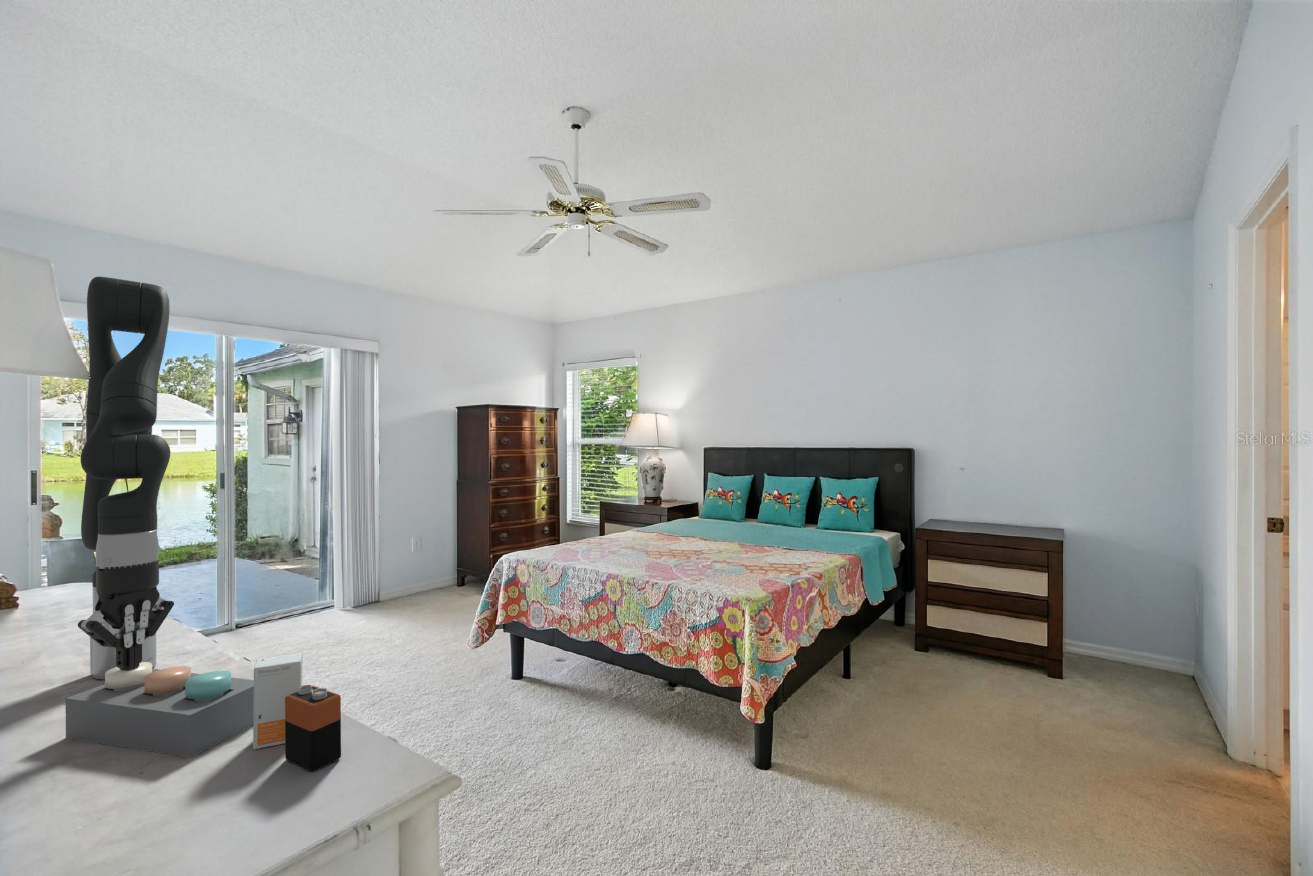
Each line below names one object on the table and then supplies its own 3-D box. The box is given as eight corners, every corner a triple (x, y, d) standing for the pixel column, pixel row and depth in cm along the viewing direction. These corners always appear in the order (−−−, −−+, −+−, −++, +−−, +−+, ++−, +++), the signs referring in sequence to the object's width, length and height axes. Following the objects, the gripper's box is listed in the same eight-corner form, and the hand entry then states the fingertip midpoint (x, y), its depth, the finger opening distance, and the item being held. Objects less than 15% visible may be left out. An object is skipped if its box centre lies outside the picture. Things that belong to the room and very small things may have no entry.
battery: (311, 774, 80) (311, 699, 80) (283, 760, 84) (283, 689, 84) (342, 759, 84) (342, 687, 84) (314, 746, 88) (314, 678, 88)
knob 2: (176, 733, 89) (175, 683, 89) (212, 716, 95) (211, 669, 95) (205, 738, 88) (205, 687, 88) (240, 720, 94) (240, 672, 94)
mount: (65, 738, 90) (65, 698, 90) (150, 703, 102) (149, 668, 102) (190, 757, 85) (190, 715, 85) (264, 718, 96) (264, 681, 96)
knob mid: (135, 727, 91) (134, 678, 91) (172, 711, 97) (172, 665, 97) (163, 732, 90) (163, 682, 90) (200, 715, 95) (199, 668, 95)
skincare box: (252, 751, 86) (252, 668, 86) (256, 738, 90) (256, 658, 90) (301, 741, 89) (301, 660, 89) (303, 729, 93) (302, 651, 93)
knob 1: (96, 722, 93) (95, 674, 93) (135, 706, 99) (134, 660, 99) (123, 726, 92) (122, 677, 92) (161, 709, 97) (160, 663, 97)
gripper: (154, 551, 103) (154, 652, 103) (60, 567, 90) (61, 683, 90) (188, 553, 101) (189, 656, 101) (98, 570, 88) (99, 688, 88)
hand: (129, 668), depth 95 cm, fingers closed
